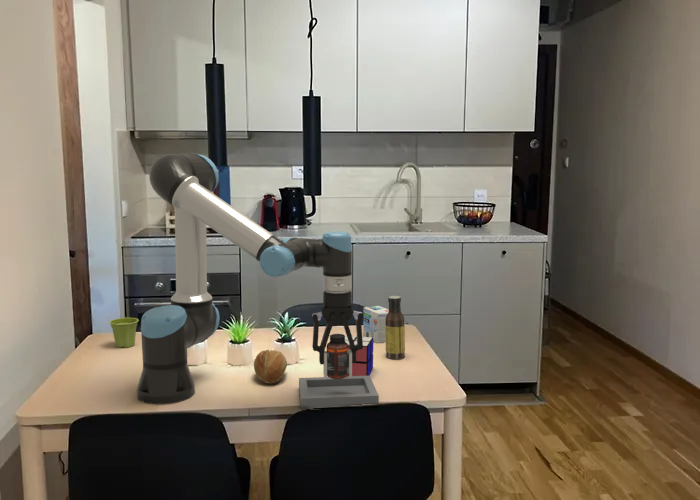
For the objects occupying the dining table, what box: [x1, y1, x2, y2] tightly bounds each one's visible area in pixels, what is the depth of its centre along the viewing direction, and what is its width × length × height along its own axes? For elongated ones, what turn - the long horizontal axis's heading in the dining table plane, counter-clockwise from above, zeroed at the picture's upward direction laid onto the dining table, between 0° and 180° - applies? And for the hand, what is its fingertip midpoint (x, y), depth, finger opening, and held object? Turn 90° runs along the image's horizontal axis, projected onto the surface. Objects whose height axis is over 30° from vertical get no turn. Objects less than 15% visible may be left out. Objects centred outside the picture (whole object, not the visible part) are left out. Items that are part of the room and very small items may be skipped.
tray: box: [298, 375, 380, 411], centre depth 181 cm, size 20×16×3 cm
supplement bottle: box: [326, 333, 349, 379], centre depth 180 cm, size 6×6×11 cm
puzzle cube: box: [345, 335, 374, 376], centre depth 201 cm, size 10×10×10 cm
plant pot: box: [108, 317, 140, 348], centre depth 228 cm, size 9×9×9 cm
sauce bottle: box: [385, 295, 406, 360], centre depth 216 cm, size 6×6×20 cm
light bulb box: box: [362, 305, 389, 344], centre depth 238 cm, size 11×7×11 cm, turn 28°
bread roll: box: [253, 349, 288, 384], centre depth 196 cm, size 10×15×8 cm, turn 5°
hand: (337, 375), depth 180 cm, fingers closed on supplement bottle, 6 cm apart
